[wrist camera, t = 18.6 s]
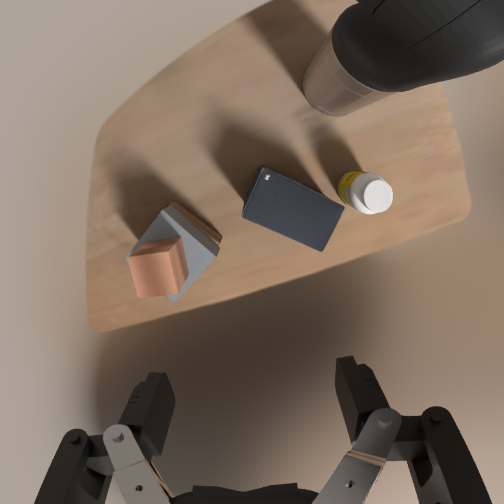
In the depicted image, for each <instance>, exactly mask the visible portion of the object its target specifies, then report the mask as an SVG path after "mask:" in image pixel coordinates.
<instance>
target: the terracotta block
mask: <svg viewBox="0 0 504 504" xmlns="http://www.w3.org/2000/svg"><path fill="white" fill-rule="evenodd" d="M128 261H129V265H130V269H131V272H132V276H133V280H134V283H135V287H136V290H137V294H138V297H139V298H141V297H153V296H164V295H175V294H179V292H180V290H181V288H182V286H183V285H184V283H185V281H186V279H187V277H188V275H189V271H188V266H187V262H186V257H185V252H184V247H183V242H182V237H178V238H171V239H165V240H158V241H151V242H145V243H144V244H143V245H142V246H140V247H139V248H138V249H137V250H135V251H134V252H133V253H132V254H131V255H129V256H128Z"/></svg>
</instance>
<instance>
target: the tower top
mask: <svg viewBox="0 0 504 504" xmlns="http://www.w3.org/2000/svg"><path fill="white" fill-rule="evenodd" d="M178 237H182V242H183V247H184V252H185V257H186V262H187V266H188V271H189V275H188V277H187V279H186V281H185V283H184V285H183V286H182V288H181V290H180V292H179V294H175V295H166V296H167V297H168V298H169V299H170V300H172V301H173V302H174V303H175V302H176V301H177V300H178V298H179V297H180V296H181V295H182V294H183V293H184V292H185V291H186V290H187V289H188V287H189V286H190V285H191V284H192V283H193V282H194V281H195V280H196V279H197V278H198V276H199V275H200V274H201V273H202V272H203V271H204V270H205V269H206V268H207V267H208V266H209V264H210V263H211V262H212V261H213V260H214V259H215V258H216V257H217V254H218V251H219V249H220V247H218V246H217V245H216V244H215V243H214V242H213V241H212V240H210V239H209V238H208V237H207V236H206V235H205V234H203V233H202V232H201V231H200V230H199V229H198V228H197V227H195V226H194V225H193V224H192V223H191V222H190V221H189V220H188V219H186V218H185V217H184V216H183V215H182V214H181V213H180V212H178V211H177V210H176V209H175V208H174V207H173V206H172V205H170V206H168V207H166V208H165V209H163V210H162V211H161V212H160V213H159V215H158V216H157V217H156V219H155V220H154V221H153V222H152V224H151V225H150V226H149V228H148V229H147V230H146V232H145V233H144V234H143V236H142V237H141V238H140V240H139V241H138V242H137V244H136V245H135V246H134V248H133V249H132V250H131V252H130V253H129V255H131V254H132V253H133V252H134V251H135V250H137V249H138V248H139V247H140V246H142V245H143V244H144V243H145V242H151V241H158V240H165V239H171V238H178ZM129 255H128V256H129ZM128 256H127V257H126V259H125V261H126V262H127V263H128V264H129V261H128Z"/></svg>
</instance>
